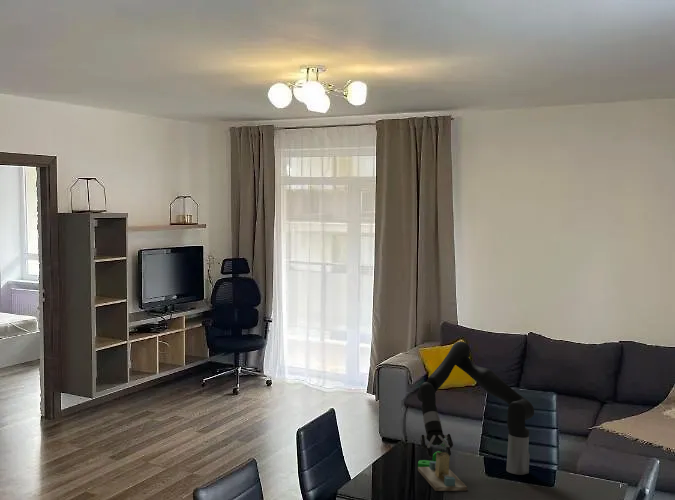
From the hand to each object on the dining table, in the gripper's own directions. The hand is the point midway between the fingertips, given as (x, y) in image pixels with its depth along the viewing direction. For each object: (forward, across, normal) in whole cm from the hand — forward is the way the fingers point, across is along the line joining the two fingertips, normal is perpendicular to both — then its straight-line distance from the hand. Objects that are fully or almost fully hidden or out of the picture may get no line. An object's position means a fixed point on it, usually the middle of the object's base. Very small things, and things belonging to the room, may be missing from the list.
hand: (439, 456), depth 301 cm
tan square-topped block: (+8, 0, -3) cm, 8 cm away
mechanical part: (-2, -1, -16) cm, 16 cm away
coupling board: (+9, 0, -4) cm, 10 cm away
